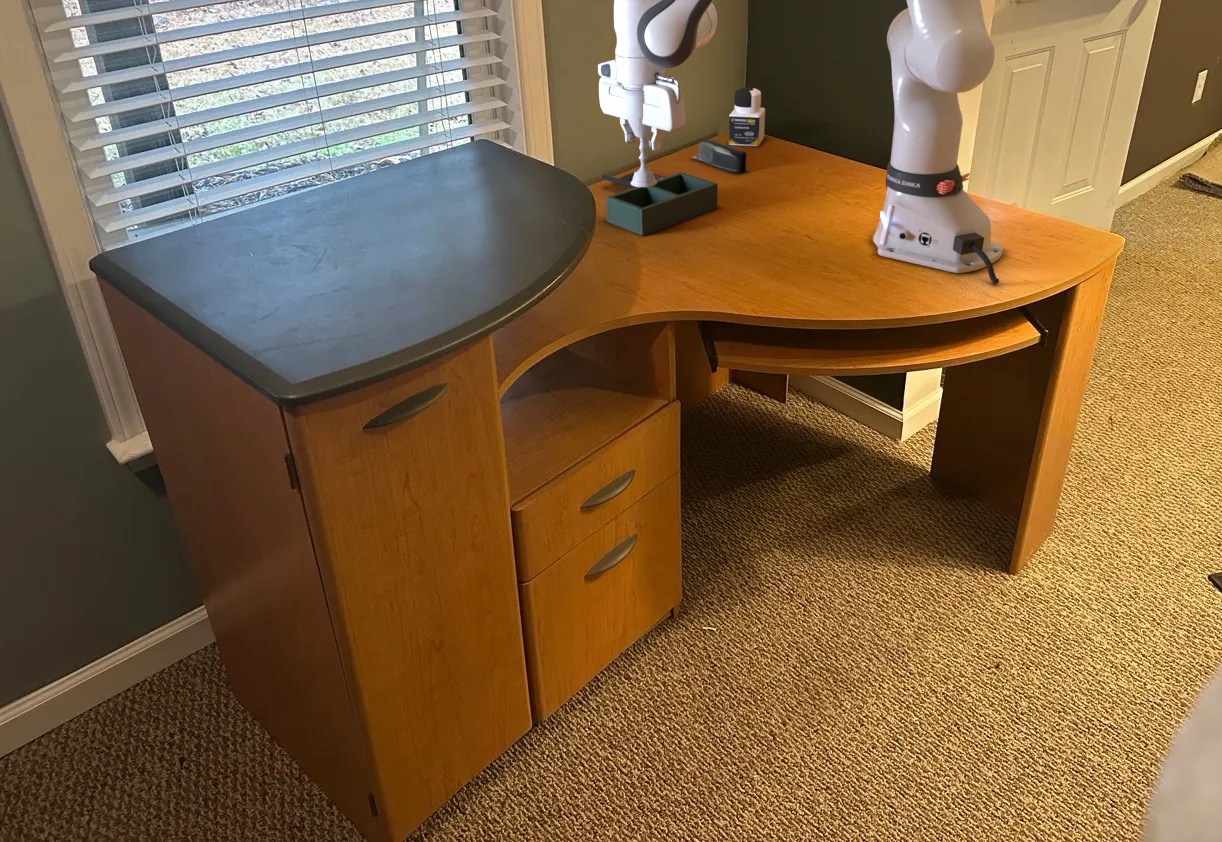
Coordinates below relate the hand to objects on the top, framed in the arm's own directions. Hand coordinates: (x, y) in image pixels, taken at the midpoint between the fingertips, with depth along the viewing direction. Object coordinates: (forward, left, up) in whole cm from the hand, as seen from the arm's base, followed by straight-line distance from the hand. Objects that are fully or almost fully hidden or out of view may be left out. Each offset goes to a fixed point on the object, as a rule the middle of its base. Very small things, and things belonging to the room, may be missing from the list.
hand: (642, 145), depth 184 cm
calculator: (+17, -13, -15) cm, 26 cm away
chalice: (0, 0, -7) cm, 7 cm away
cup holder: (0, -5, -15) cm, 16 cm away
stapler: (+13, -34, -15) cm, 39 cm away
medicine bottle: (+21, -51, -15) cm, 57 cm away
